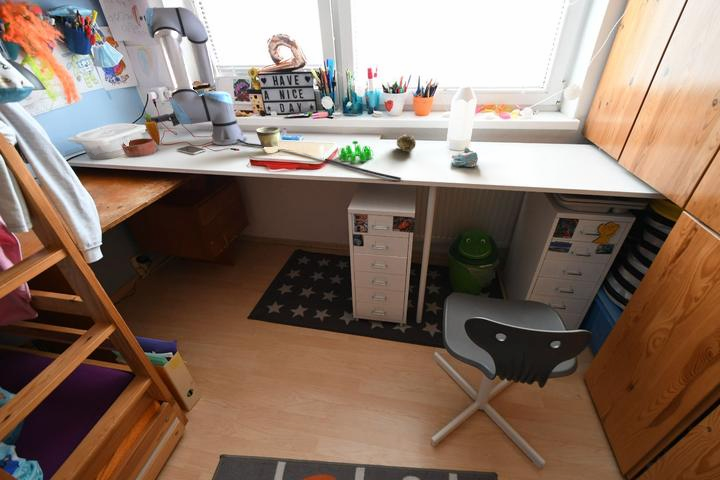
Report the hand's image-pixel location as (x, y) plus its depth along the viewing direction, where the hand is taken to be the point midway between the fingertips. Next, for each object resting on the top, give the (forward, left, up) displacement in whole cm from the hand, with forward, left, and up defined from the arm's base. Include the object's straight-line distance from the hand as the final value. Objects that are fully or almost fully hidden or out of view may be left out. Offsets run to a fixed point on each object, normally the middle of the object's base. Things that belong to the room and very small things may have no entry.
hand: (160, 123), depth 164 cm
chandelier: (-104, -26, -9) cm, 107 cm away
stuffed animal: (-145, -41, -9) cm, 151 cm away
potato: (-118, -44, -9) cm, 126 cm away
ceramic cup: (-64, -16, -9) cm, 66 cm away
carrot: (-4, +6, -9) cm, 11 cm away
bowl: (-10, +17, -9) cm, 22 cm away
